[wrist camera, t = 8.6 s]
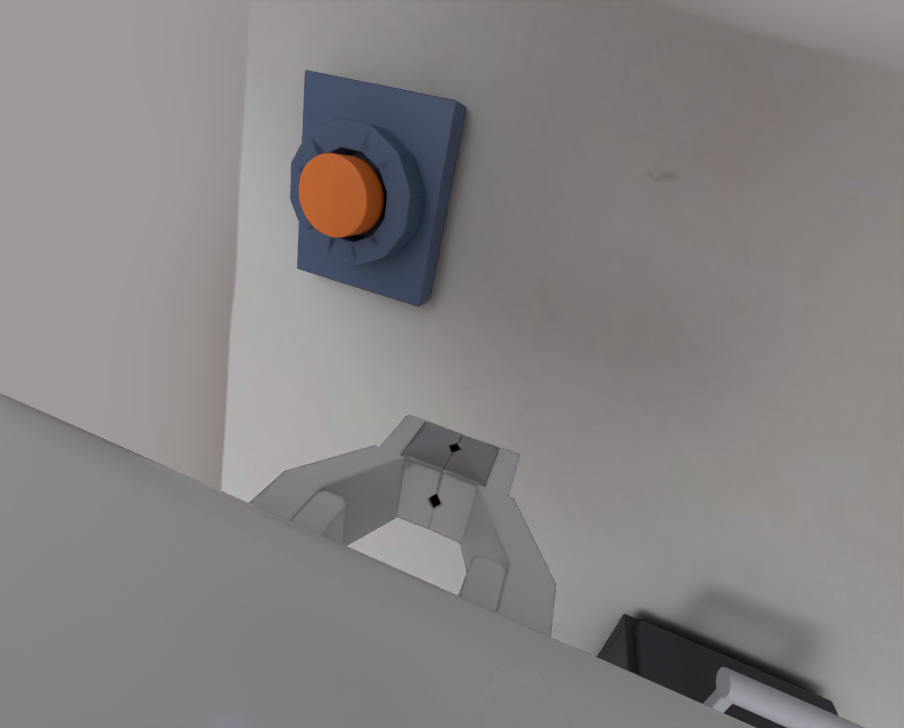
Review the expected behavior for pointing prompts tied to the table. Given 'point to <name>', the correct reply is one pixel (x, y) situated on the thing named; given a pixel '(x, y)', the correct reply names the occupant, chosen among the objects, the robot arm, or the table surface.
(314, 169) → the button
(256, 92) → the table surface
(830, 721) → the drawer
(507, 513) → the robot arm
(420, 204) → the control block
